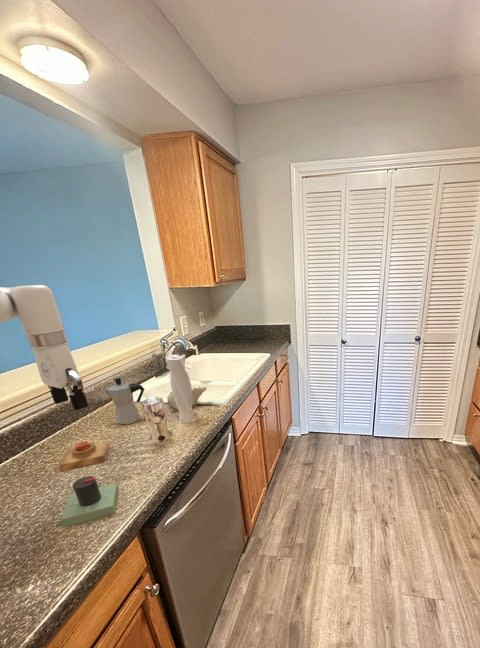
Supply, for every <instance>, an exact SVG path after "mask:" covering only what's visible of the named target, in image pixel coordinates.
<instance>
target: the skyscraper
mask: <svg viewBox="0 0 480 648" xmlns="http://www.w3.org/2000/svg"><path fill="white" fill-rule="evenodd" d="M169 353H170V357H168V355H169ZM165 362H166V365H167V367H168V369H169V378H170V387H171V392H173V396H174V399H175V402H176V405H177V408H178V409H177V411H178V413H179V414H178V420H179V419H181V420H182V421H183V422H184V423H185V422H188V421H191V420H194V419H197V417H196V415H195V413H194V412H193V406H192V389H193V388H192V384H191V379H190V376H189V373H188V371H187V370H186V354H185V353H184V354H182V355H180V354H173V350H172V349H169V350H168V351H167V352H166V354H165ZM182 421H181V422H182ZM194 421H195V420H194ZM183 422H182V423H183ZM191 422H192V421H191ZM184 423H183V424H184ZM188 423H189V422H188ZM185 424H186V423H185Z"/></svg>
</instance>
